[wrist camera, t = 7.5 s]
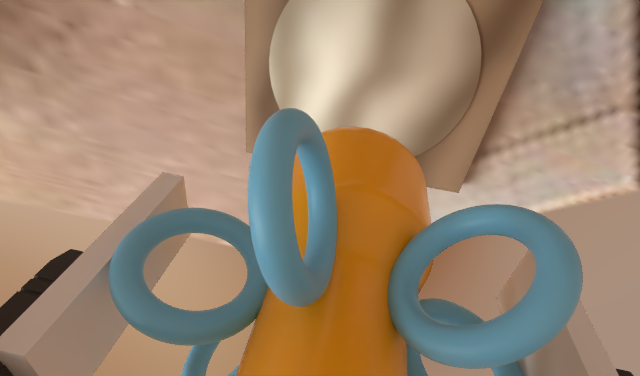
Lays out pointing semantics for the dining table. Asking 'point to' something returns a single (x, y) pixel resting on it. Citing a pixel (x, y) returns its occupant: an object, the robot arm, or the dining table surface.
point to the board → (388, 70)
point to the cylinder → (347, 266)
